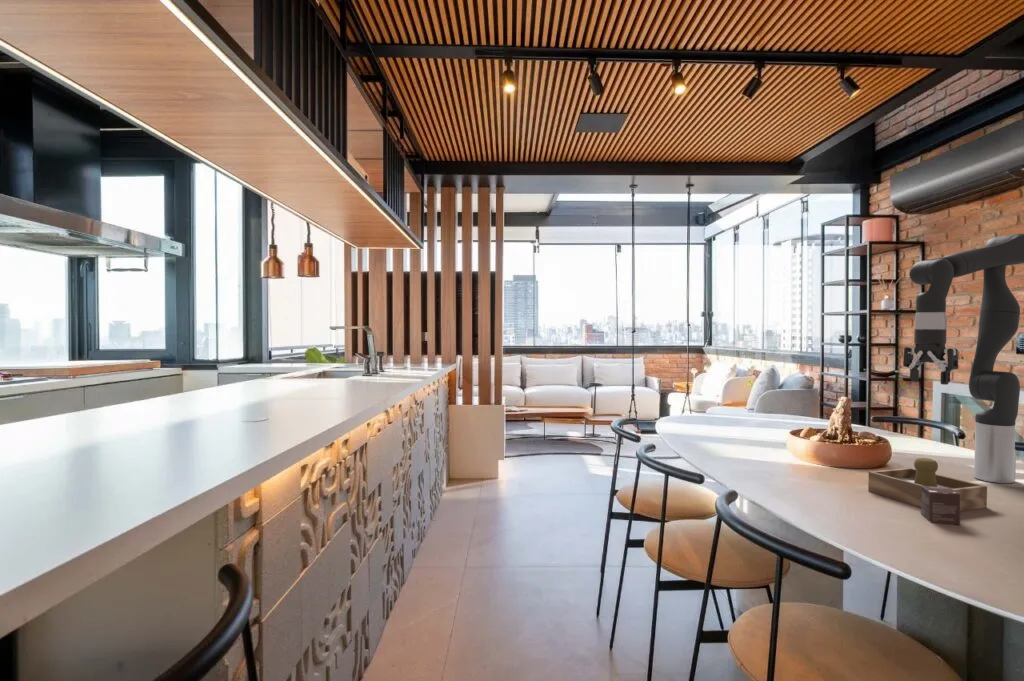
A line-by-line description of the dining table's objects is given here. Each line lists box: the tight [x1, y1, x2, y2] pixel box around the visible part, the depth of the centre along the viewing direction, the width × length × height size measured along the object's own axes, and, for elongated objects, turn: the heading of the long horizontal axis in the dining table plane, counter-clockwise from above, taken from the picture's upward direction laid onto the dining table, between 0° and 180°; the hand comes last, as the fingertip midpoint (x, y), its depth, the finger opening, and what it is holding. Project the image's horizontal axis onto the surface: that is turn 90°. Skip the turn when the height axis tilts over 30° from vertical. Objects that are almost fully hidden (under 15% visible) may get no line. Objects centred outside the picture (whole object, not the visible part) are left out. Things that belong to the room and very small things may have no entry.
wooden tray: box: [867, 467, 988, 512], centre depth 149 cm, size 16×20×6 cm
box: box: [920, 486, 961, 525], centre depth 133 cm, size 6×6×7 cm
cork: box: [913, 457, 939, 487], centre depth 149 cm, size 6×6×11 cm
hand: (929, 383), depth 163 cm, fingers open, 8 cm apart
